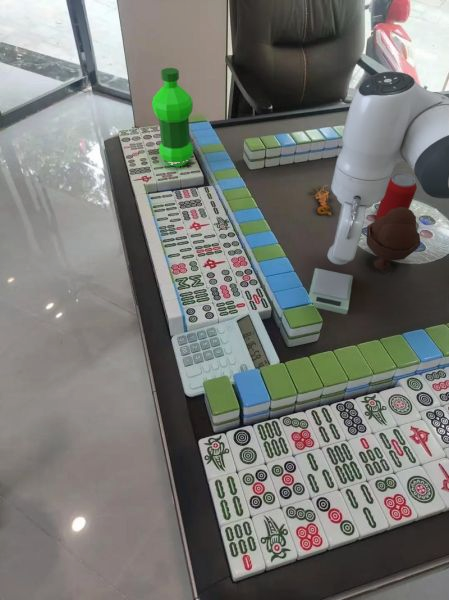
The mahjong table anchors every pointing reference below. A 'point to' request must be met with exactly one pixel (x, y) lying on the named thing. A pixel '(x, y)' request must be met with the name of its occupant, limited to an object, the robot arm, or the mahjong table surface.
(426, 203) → the mahjong table surface
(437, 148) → the robot arm
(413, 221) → the ice cream bowl
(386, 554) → the mahjong table surface
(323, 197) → the dragon
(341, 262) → the rook chess piece
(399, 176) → the beverage can
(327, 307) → the scale
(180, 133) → the plastic bottle
